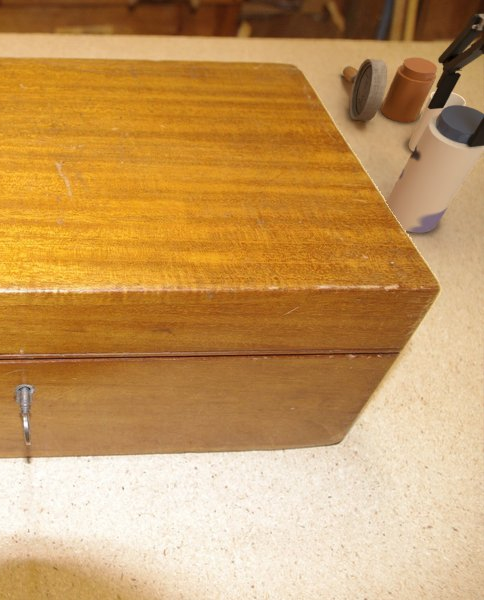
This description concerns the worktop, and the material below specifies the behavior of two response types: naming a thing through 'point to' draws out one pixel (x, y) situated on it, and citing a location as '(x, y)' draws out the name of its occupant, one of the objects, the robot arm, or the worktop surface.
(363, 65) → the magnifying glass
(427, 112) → the mug
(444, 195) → the container
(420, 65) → the jar
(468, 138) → the lid
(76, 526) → the worktop surface
